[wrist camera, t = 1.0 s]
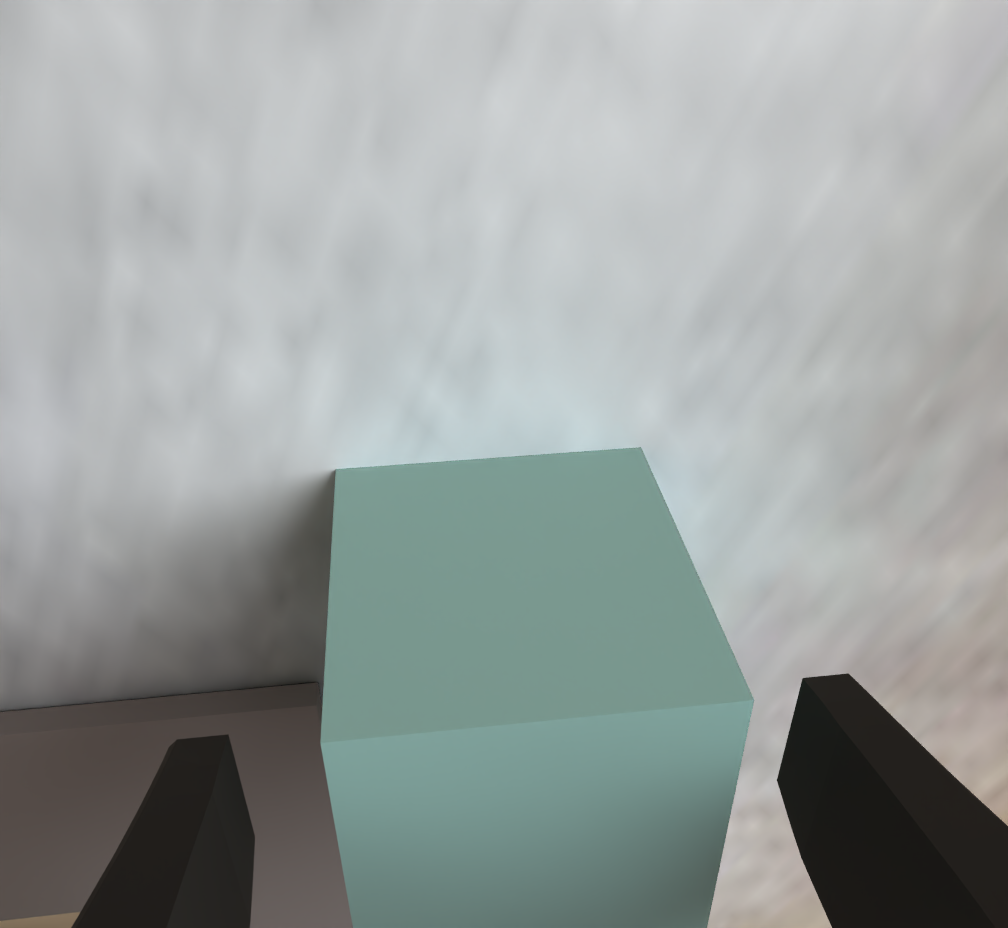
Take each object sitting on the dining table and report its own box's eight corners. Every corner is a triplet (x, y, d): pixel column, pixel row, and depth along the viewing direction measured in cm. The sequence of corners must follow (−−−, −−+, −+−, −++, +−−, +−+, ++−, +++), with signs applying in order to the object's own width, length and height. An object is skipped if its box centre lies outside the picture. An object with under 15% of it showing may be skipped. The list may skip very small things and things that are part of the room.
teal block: (621, 660, 16) (705, 934, 12) (364, 684, 16) (361, 977, 12) (639, 445, 14) (754, 700, 10) (335, 467, 13) (320, 742, 9)
